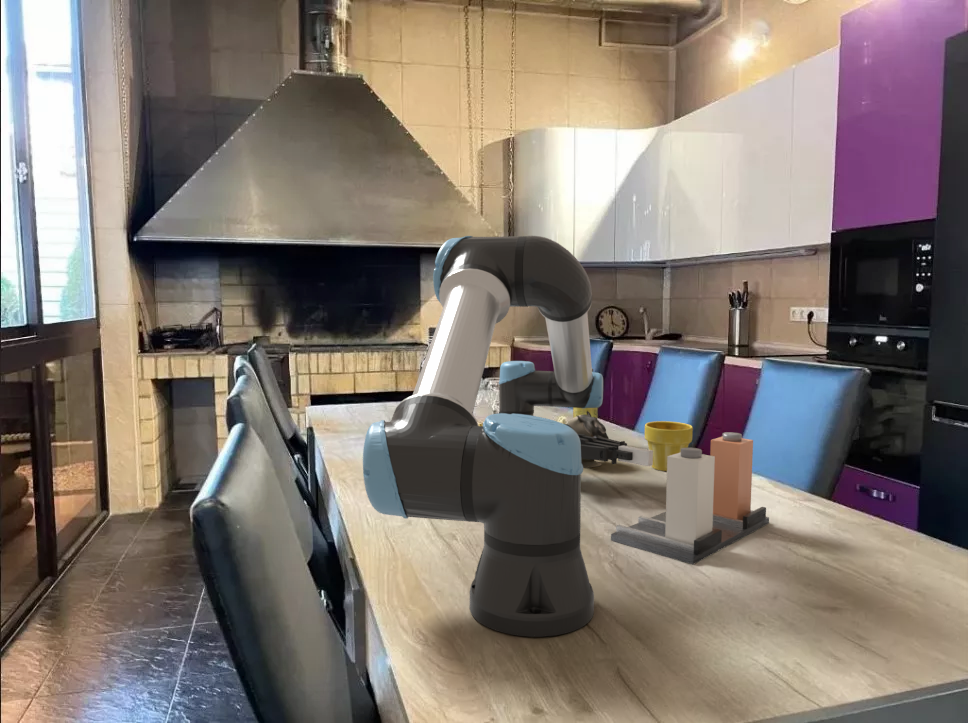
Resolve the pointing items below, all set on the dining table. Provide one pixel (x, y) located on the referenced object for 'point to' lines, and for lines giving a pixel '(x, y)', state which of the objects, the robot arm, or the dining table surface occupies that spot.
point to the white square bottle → (689, 495)
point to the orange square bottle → (732, 475)
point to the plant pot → (666, 440)
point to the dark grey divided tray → (724, 533)
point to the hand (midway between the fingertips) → (650, 458)
